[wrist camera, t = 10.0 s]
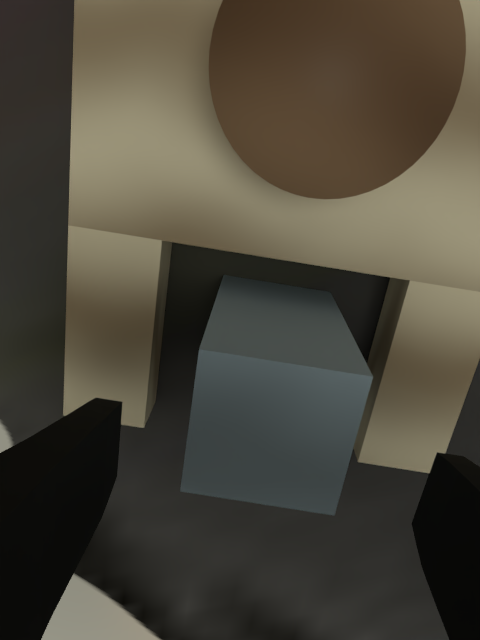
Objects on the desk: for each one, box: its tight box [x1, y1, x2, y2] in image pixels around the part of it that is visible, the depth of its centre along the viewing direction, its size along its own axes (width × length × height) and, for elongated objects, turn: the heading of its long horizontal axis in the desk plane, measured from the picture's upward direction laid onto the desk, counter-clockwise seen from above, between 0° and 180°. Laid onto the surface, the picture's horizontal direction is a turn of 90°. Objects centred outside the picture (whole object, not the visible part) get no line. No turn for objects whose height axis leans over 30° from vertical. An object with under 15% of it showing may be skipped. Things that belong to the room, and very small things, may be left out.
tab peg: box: [180, 275, 373, 515], centre depth 14 cm, size 4×4×7 cm
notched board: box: [63, 0, 480, 473], centre depth 14 cm, size 17×14×5 cm
